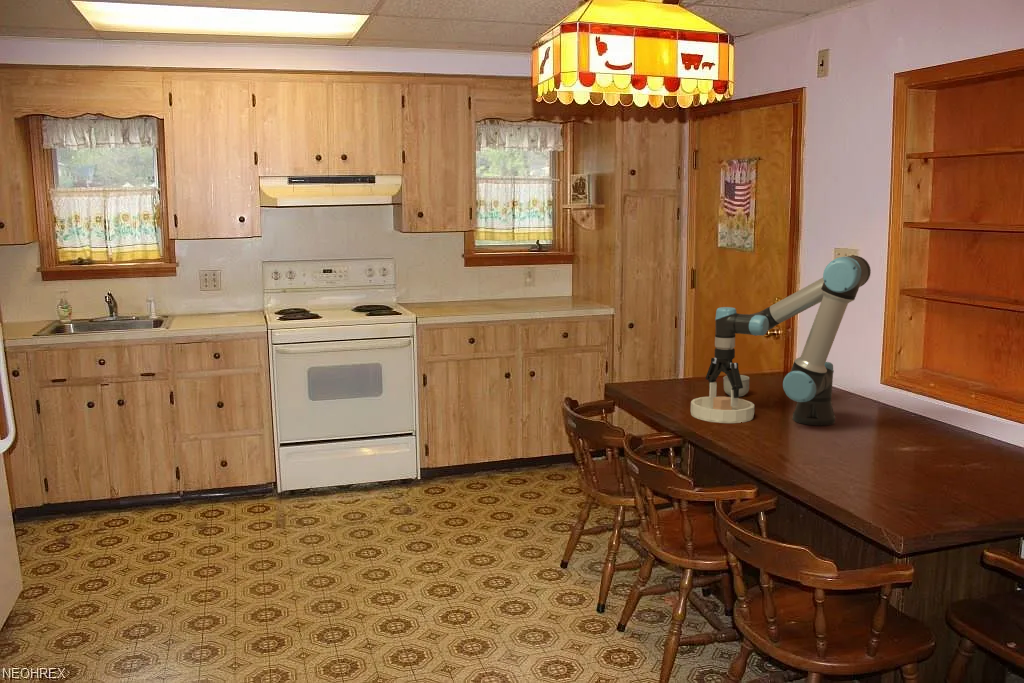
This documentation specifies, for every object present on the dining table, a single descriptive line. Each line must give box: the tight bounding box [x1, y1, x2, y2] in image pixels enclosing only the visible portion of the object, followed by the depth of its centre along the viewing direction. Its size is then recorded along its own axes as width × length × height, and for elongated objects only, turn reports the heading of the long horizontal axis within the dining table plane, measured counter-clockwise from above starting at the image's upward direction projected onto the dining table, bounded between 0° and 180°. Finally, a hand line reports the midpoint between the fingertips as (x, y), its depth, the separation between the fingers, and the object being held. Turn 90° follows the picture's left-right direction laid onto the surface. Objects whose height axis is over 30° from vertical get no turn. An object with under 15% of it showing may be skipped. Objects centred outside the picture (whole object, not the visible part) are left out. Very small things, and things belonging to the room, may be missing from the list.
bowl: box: [690, 395, 755, 424], centre depth 336 cm, size 23×23×5 cm
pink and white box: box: [713, 395, 732, 410], centre depth 336 cm, size 5×5×6 cm
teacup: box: [722, 374, 751, 398], centre depth 372 cm, size 14×11×8 cm
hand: (723, 402), depth 336 cm, fingers open, 13 cm apart
